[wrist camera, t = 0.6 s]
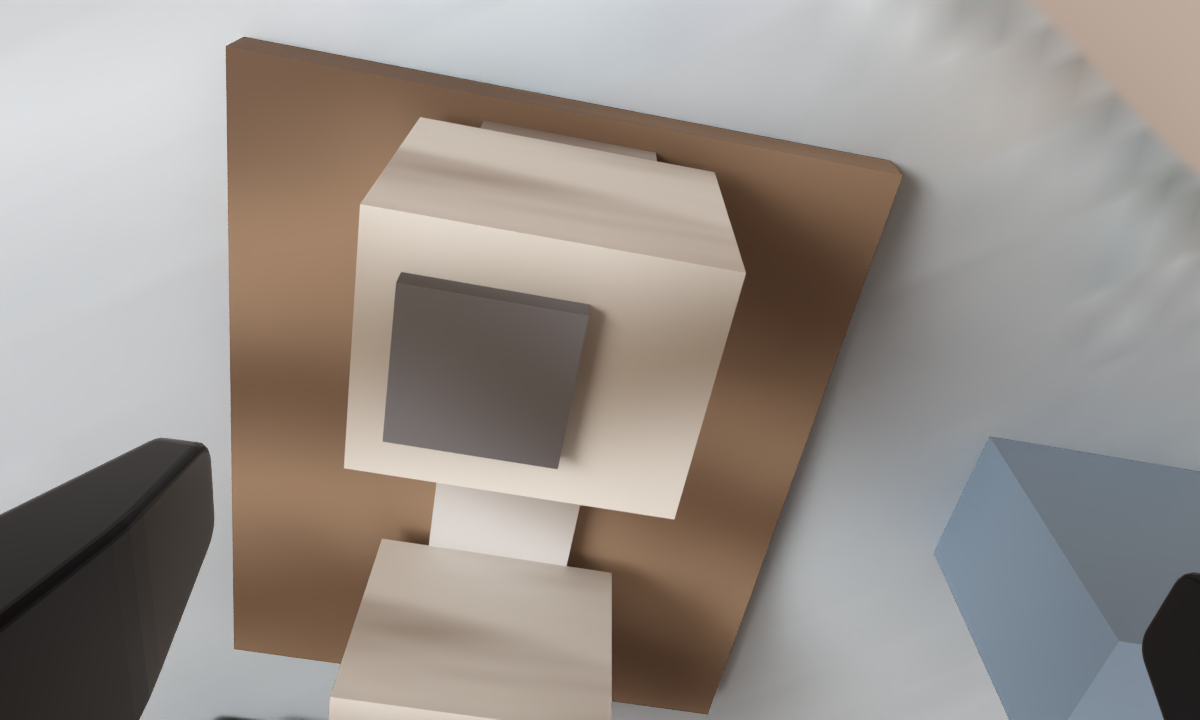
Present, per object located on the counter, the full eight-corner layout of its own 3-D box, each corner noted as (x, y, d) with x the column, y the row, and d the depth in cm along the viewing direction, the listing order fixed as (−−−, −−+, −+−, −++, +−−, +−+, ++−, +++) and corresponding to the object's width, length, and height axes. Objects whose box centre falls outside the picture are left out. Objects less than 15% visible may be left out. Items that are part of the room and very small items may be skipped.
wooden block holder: (704, 687, 28) (729, 918, 22) (246, 623, 27) (141, 848, 21) (890, 161, 20) (1011, 299, 14) (243, 36, 19) (70, 129, 13)
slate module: (1133, 583, 26) (1291, 808, 20) (933, 551, 26) (1033, 772, 20) (1204, 471, 24) (1402, 683, 18) (989, 435, 24) (1119, 641, 18)
